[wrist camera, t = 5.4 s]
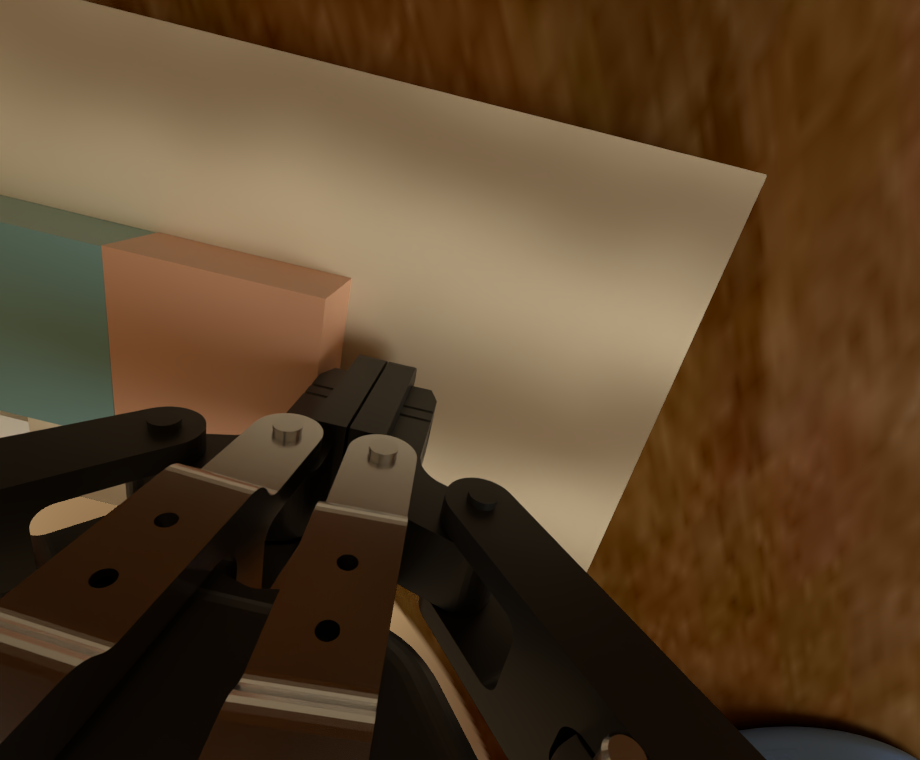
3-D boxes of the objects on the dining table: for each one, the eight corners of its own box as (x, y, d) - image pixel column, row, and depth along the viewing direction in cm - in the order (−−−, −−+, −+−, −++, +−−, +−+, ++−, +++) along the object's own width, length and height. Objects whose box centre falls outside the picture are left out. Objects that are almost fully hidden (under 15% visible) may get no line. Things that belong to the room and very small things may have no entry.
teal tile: (-35, 186, 13) (-124, 191, 11) (159, 233, 13) (101, 246, 11) (-3, 363, 15) (-74, 393, 13) (164, 403, 15) (116, 438, 13)
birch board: (68, 5, 14) (-42, -32, 11) (716, 170, 14) (767, 174, 11) (104, 439, 20) (38, 485, 17) (559, 551, 20) (566, 616, 17)
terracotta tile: (158, 232, 13) (101, 245, 11) (351, 278, 13) (325, 299, 11) (164, 403, 15) (117, 437, 13) (330, 442, 15) (305, 482, 13)
